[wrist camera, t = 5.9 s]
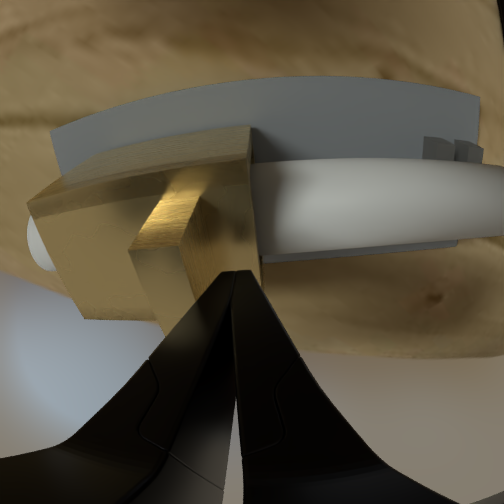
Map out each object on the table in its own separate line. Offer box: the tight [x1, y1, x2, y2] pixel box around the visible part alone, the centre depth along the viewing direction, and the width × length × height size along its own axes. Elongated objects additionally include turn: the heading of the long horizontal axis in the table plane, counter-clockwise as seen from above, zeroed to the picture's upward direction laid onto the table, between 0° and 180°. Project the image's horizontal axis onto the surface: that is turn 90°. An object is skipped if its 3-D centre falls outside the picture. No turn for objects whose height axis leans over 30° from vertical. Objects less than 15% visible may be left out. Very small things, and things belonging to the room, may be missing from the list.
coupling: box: [27, 124, 264, 337], centre depth 11 cm, size 8×6×8 cm
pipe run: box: [27, 76, 504, 271], centre depth 12 cm, size 24×10×6 cm, turn 96°
